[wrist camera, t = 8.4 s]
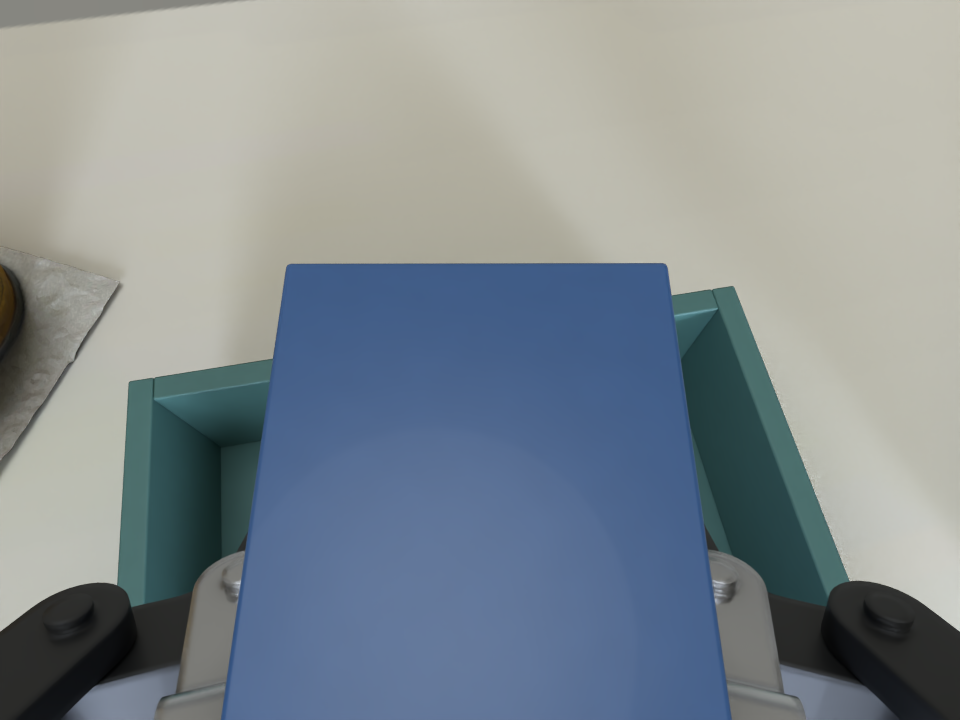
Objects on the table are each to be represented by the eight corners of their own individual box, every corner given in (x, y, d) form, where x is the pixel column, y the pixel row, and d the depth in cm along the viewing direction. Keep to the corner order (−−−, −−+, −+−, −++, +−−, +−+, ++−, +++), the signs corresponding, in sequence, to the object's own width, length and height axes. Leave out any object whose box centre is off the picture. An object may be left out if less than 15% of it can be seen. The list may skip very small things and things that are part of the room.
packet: (384, 729, 14) (186, 935, 5) (397, 472, 17) (284, 261, 7) (574, 728, 14) (766, 935, 5) (560, 473, 17) (669, 260, 7)
